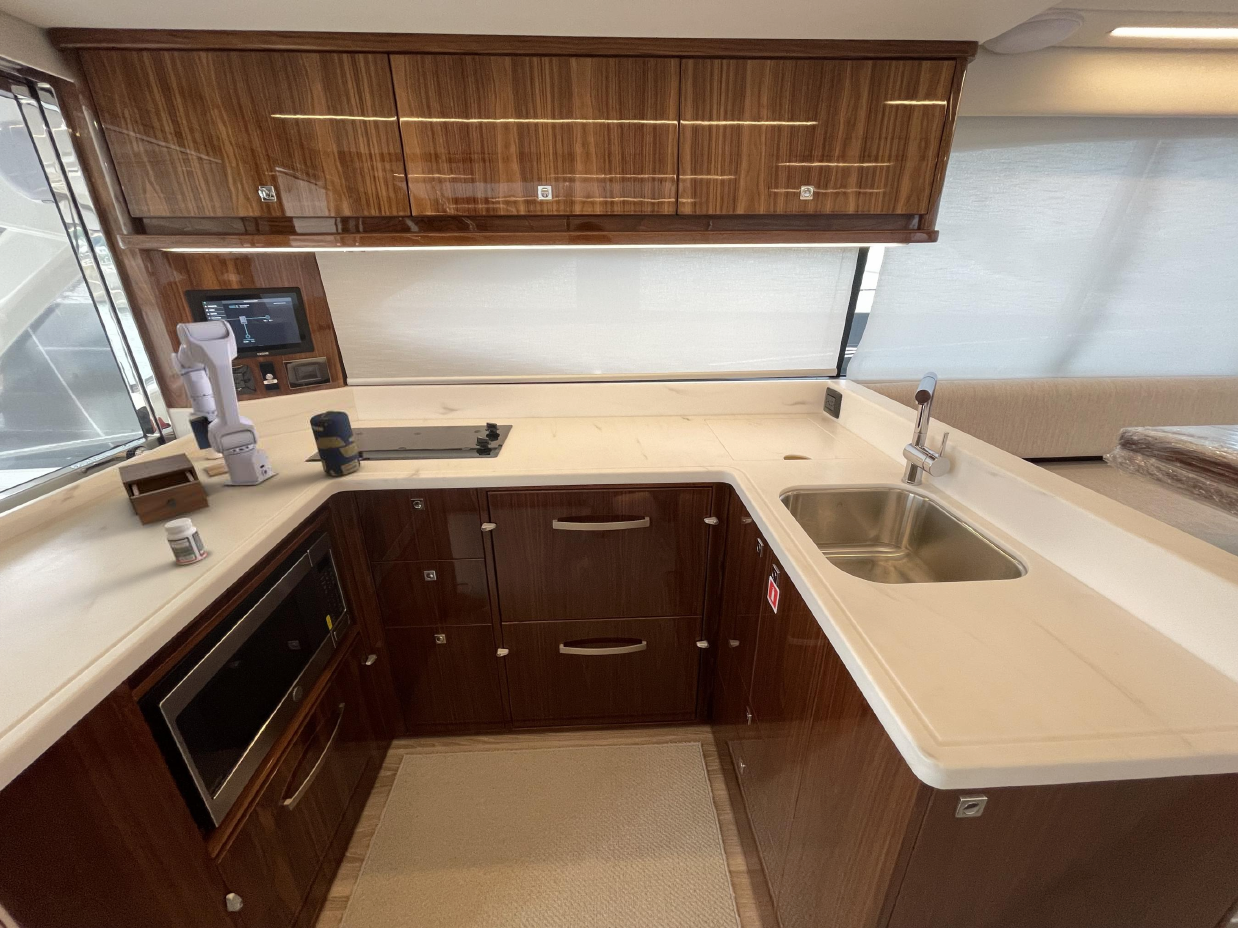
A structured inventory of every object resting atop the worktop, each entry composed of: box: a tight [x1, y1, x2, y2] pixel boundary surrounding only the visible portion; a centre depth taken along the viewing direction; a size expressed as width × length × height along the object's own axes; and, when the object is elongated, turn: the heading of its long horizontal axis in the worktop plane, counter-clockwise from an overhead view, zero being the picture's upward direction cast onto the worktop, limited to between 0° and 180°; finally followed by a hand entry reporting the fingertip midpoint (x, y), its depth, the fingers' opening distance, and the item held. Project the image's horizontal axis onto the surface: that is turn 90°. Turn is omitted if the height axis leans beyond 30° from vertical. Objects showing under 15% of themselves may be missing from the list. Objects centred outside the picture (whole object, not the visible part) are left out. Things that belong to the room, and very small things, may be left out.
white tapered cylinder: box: [187, 410, 223, 460], centre depth 158 cm, size 7×7×15 cm
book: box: [188, 415, 217, 451], centre depth 146 cm, size 3×9×8 cm, turn 136°
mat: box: [204, 462, 229, 477], centre depth 151 cm, size 10×10×1 cm
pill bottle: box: [163, 517, 207, 566], centre depth 100 cm, size 5×5×8 cm
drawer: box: [131, 470, 210, 526], centre depth 122 cm, size 16×12×7 cm
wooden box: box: [118, 452, 200, 515], centre depth 130 cm, size 16×14×9 cm
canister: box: [309, 410, 361, 477], centre depth 140 cm, size 10×10×18 cm
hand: (217, 440), depth 147 cm, fingers closed on book, 3 cm apart
